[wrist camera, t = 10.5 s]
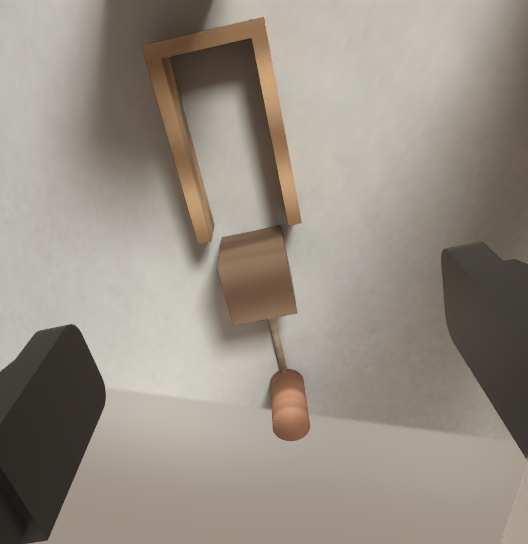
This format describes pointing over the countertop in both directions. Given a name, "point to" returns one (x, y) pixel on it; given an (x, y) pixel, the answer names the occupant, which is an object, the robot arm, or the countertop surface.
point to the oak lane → (177, 123)
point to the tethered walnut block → (266, 313)
